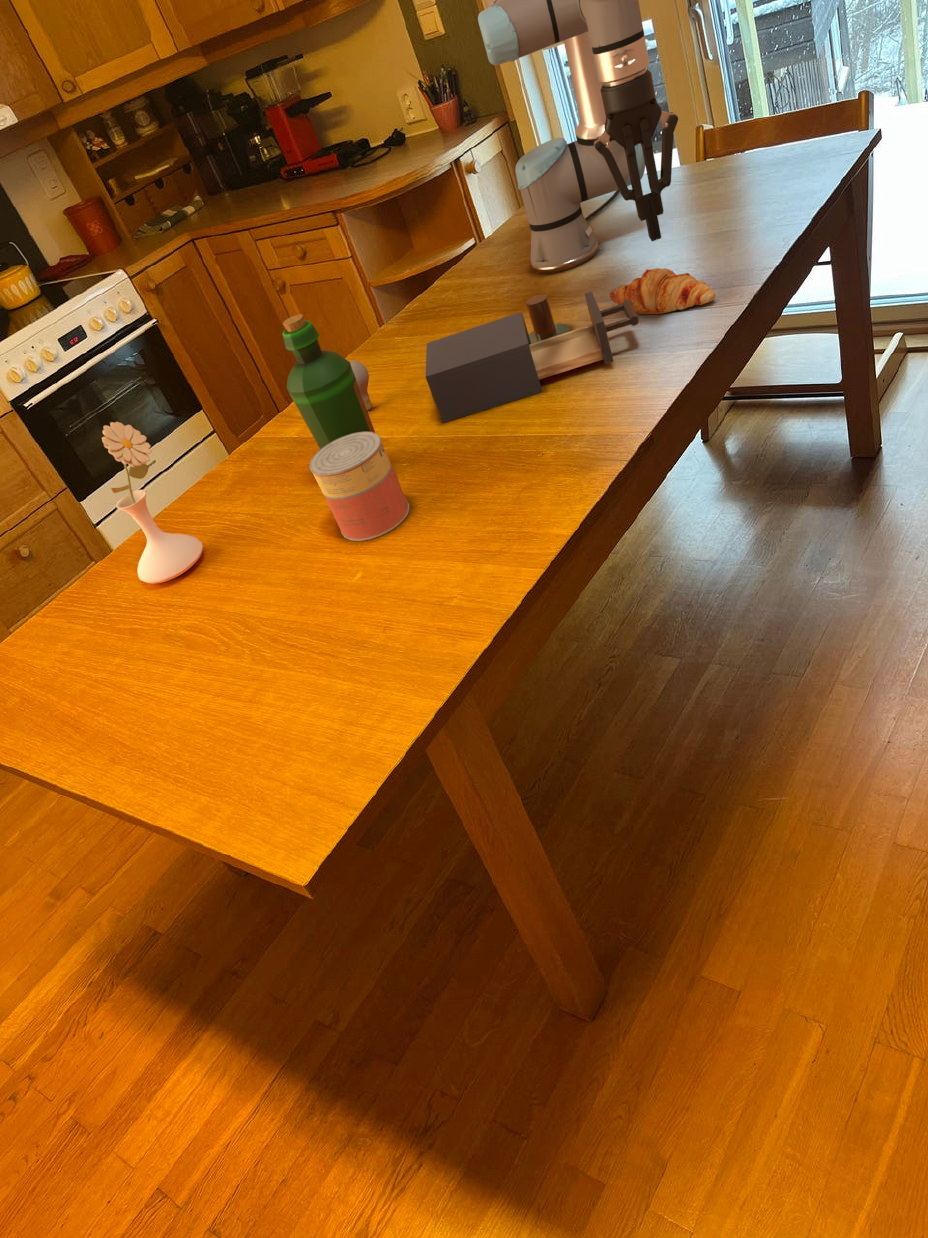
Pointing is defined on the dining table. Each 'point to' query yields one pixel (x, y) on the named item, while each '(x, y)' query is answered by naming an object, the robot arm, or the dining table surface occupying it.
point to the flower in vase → (163, 550)
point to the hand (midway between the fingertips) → (655, 237)
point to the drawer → (580, 341)
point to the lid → (543, 320)
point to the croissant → (663, 292)
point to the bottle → (323, 386)
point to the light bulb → (362, 381)
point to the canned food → (360, 486)
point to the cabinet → (481, 368)
